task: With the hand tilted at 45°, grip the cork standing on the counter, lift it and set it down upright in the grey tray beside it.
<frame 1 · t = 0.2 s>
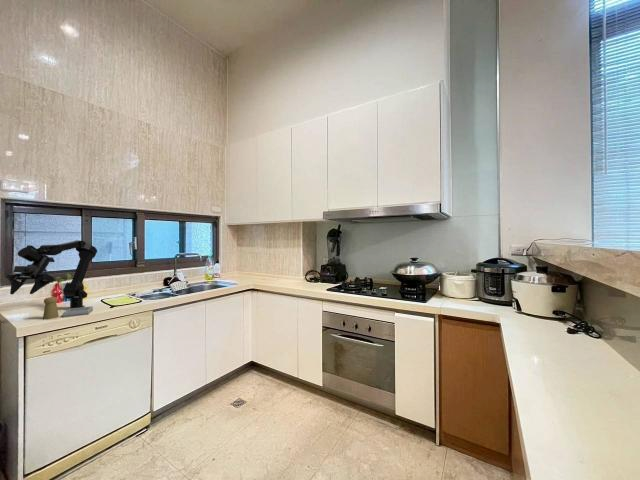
hand: (21, 294, 128), 15 cm above the countertop, tool tilted 35°, fingers open, 9 cm apart
cork: (50, 318, 139), on the countertop
grey tray: (78, 313, 147), on the countertop
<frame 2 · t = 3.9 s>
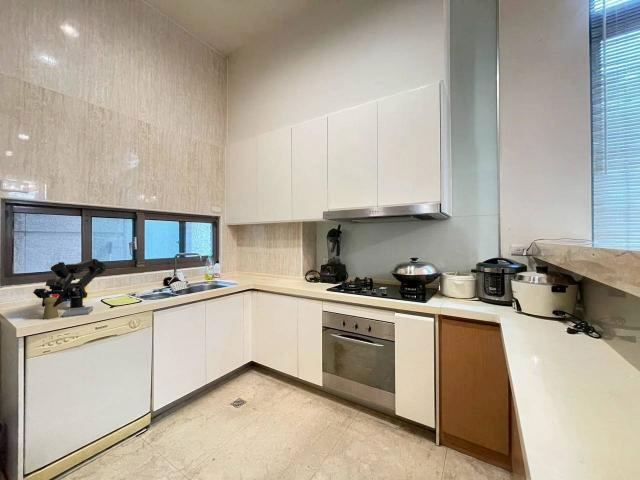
hand: (48, 306, 138), 7 cm above the countertop, tool tilted 45°, fingers closed on cork, 5 cm apart
cork: (50, 318, 139), on the countertop, touching gripper
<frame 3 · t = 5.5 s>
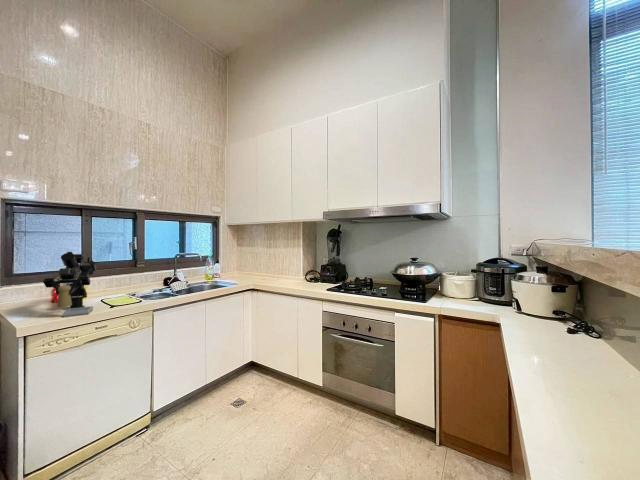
hand: (63, 294, 141), 12 cm above the countertop, tool tilted 45°, fingers closed on cork, 5 cm apart
cork: (64, 305, 143), point 5 cm above the countertop, touching gripper
when the fingers open (9 cm above the countertop, at t = 7.2 s): cork drops 1 cm, resting on grey tray.
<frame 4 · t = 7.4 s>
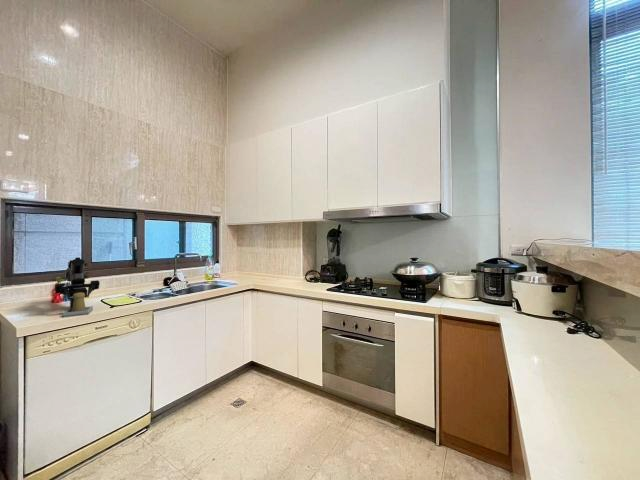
hand: (78, 298, 146), 9 cm above the countertop, tool tilted 45°, fingers open, 7 cm apart
cork: (78, 312, 147), point 1 cm above the countertop, touching grey tray
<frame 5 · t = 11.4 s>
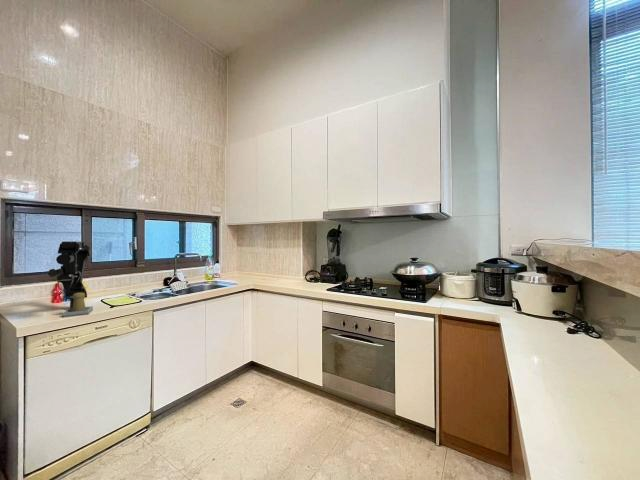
hand: (69, 290, 147), 13 cm above the countertop, tool pointing down, fingers open, 9 cm apart
nothing on the countertop moved.
at the end: cork 0.1 cm off-centre on the grey tray, point 0.6 cm above the grey tray's base; cork tilted 0°; the gripper is holding nothing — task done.
